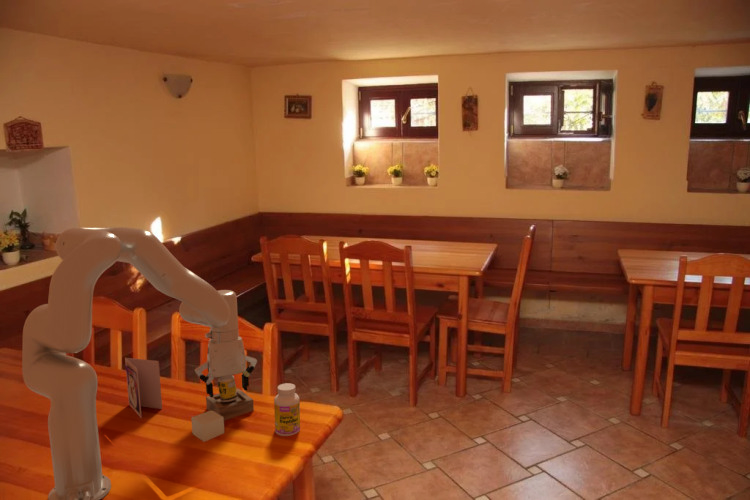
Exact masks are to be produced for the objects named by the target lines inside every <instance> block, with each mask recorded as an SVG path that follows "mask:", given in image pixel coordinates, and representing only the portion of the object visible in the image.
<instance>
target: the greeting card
mask: <svg viewBox="0 0 750 500" xmlns="http://www.w3.org/2000/svg"><path fill="white" fill-rule="evenodd" d="M124 362H125V363H124V364H123V366H124V368H125V374H126V376H125V377H126V384H127V385H126V387H127V393H128V394H127V397H128V405H129V406H130V408H131V409H132V410H133V411H134V412H135V413H136V414H137V415H138V417H139V419H143V417H142V407H144V408H150V409H151V408H152V409H159V410H160V409H161V410H163V402H162V388H161V374H160V361H159V360H153V359H152V360H150V359H141V358H135V357H134V358H131V357H124Z"/></svg>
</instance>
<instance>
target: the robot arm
mask: <svg viewBox="0 0 750 500" xmlns="http://www.w3.org/2000/svg"><path fill="white" fill-rule="evenodd" d="M55 252H56V254H57V256H58V257H59V258H60V259H61V260H62V261H60V263H58V266H57V267H56V268H55V270H54V272H53V273H52V275H51V278H50V283H49V289H48V290H49V291H48V297H47V298H48V300H47V303H43V304H41V305H39V306H37V307H35V308H34V309H33V310H32V311H31V312H30V313H29V314H28V316H27V317H26V319H25V321H24V325H23V329H22V351H21V352H22V356H21V357H22V358H21V359H22V360H21V361H22V365H21V366H22V367H21V369H22V373H21V374H22V379H23V382H24V384H25V386H26V387H27V388H28V389H29V390H30V391H32V392H34V393H36V394H38V395H40V396H42V397H45V398H47V399H49V401H50V409H49V413H48V418H47V427H48V429H47V430H48V436H49V444H50V452H51V462H52V470H53V479H54V487H53V488H52V489H50V491H49V493H48V495H47V496H48V497H47V499H48V500H102V499H103V498H104V497H105V496H107V494H108V493H109V492H110V490H111V488H112V484H111V483H112V482H111V479H110V478H109V477H108V476H106V475H105V474H103V469H102V466H103V465H102V457H101V448H100V447H101V446H100V438H99V437H100V435H99V426H98V419H97V418H98V417H97V394H98V393H97V392H98V383H99V382H98V375H97V373H96V371H95V369H94V368H93V367H92V366H91V365H90V364H89V363H87V362H86V361H84V360H82V359H79V358H76V357H74V356H70V355H67V354H77V353H79V352H81V351H83V350H85V349H86V348H87V346H89V344H90V343H91V342H90V341H91V338H92V334H93V333H92V332H93V331H92V330H93V301H94V300H93V299H94V290H95V286H96V283H97V281H98V279H99V278H100V277H101V275H102V274H103V273H104V272H105V271H106V270H108V269H109V268H110V267H112V266H113V265H114V264H115V263H116V262H121V263H127V264H130V265H131V266H132V267H133V268H134V269H136V270H137V272H139V273H140V275H141V276H143V278H144V279H146V281H148V283H150V284H151V286H153V288H155V289H156V290H157V291H158V292H160V293H162V294H164V295H165V296H168V297H170V298H174V299H176V300H178V301H180V302H181V303H180V304H179V310H178V312H179V315H180V317H181V318H182V319H183V320H184V321H185V322H187V323H190V324H195V325H199V326H204V327H209V328H210V329H209V332H207V333H204V334H205V338H206V339H209V340H208V344H207V356H206V357H207V360H206V361H205V362H203V363H202V364H200V365H199V366H197V367H195V369H194V372H195V373H196V375H197V377H198V378H199V379H200V380H201V381H202V382H204V384H205V390H206V391H205V392H206V395H208V396H210V397H211V398H212V397H213V395H214V388H213V386H214V385H213V382H212V381H213V380H214V379H215V378H216V379H219V378H218V377H224V376H229V375H232V376H234V375H239V374H241V387H242V389H243V390H244V391H248V387H250V382H249V377H250V375H251V374H252V372H253V371H254V370H255V367H256V364H257V363H258V359H256V358H255V357H252V356H249V355H246V351H245V346H244V342H243V338H242V337H241V336H240V335H239V317H238V299H237V298H238V297H237V294H236V292H235V291H233V290H231V289H230V290H229V289H220V290H217V289H216V288H215V287H214V286H213V285H212V284H210V283H209V282H207V281H206V280H204V279H203V278H201V277H200V276H199V275H197V274H195V273H194V272H193V271H191V270H189V269H188V268H187V267H185V266H184V265H183V264H182V263H181V262H180V261H179V260H178V259H177V258H176V257H175V256H174V255H173V254H172V253H171V252H170V251H169V249H168V248H167V247H166V246H165V245H164V244H163V242H161V241H160V240H159V238H158V237H157V236H156V235H154V233H152V232H151V231H149V230H146V229H143V228H134V227H123V226H121V227H116V226H115V227H113V226H111V227H71V228H68V229H65V230H63V231H62V232H61V233H60V234H59V235H58V236H57V239H56V241H55ZM247 362H248V363H250V364H249V365H248V366H247ZM205 370H207V371H208V373H207V374H206V375H205V374H203V372H204V371H205Z"/></svg>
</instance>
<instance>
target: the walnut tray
mask: <svg viewBox="0 0 750 500" xmlns="http://www.w3.org/2000/svg"><path fill="white" fill-rule="evenodd" d="M236 391H237V399H235V400H233V401H230V402H221V399H220V394H219V393H216V394H213V397H212V398H211V397H210V396H209V395H207V396H206V397H205V401H206V404H205V405H206V410H207V412H208V411H211V410H212V411H214V412H216V413H218V414H219V415H221V416H223V418H224V422H225V421H227V420H228V421H229V420H231V419H233V418H236V417H240V416H242V415H245V414H248V413H250V412H251V413H252V412H254V411H255V410H254V409H255V408H254V399H253V398H252V397H251V396H249V395H248V394H246V393H245V392H244V391H243V390H242V389H240V388H236Z"/></svg>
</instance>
